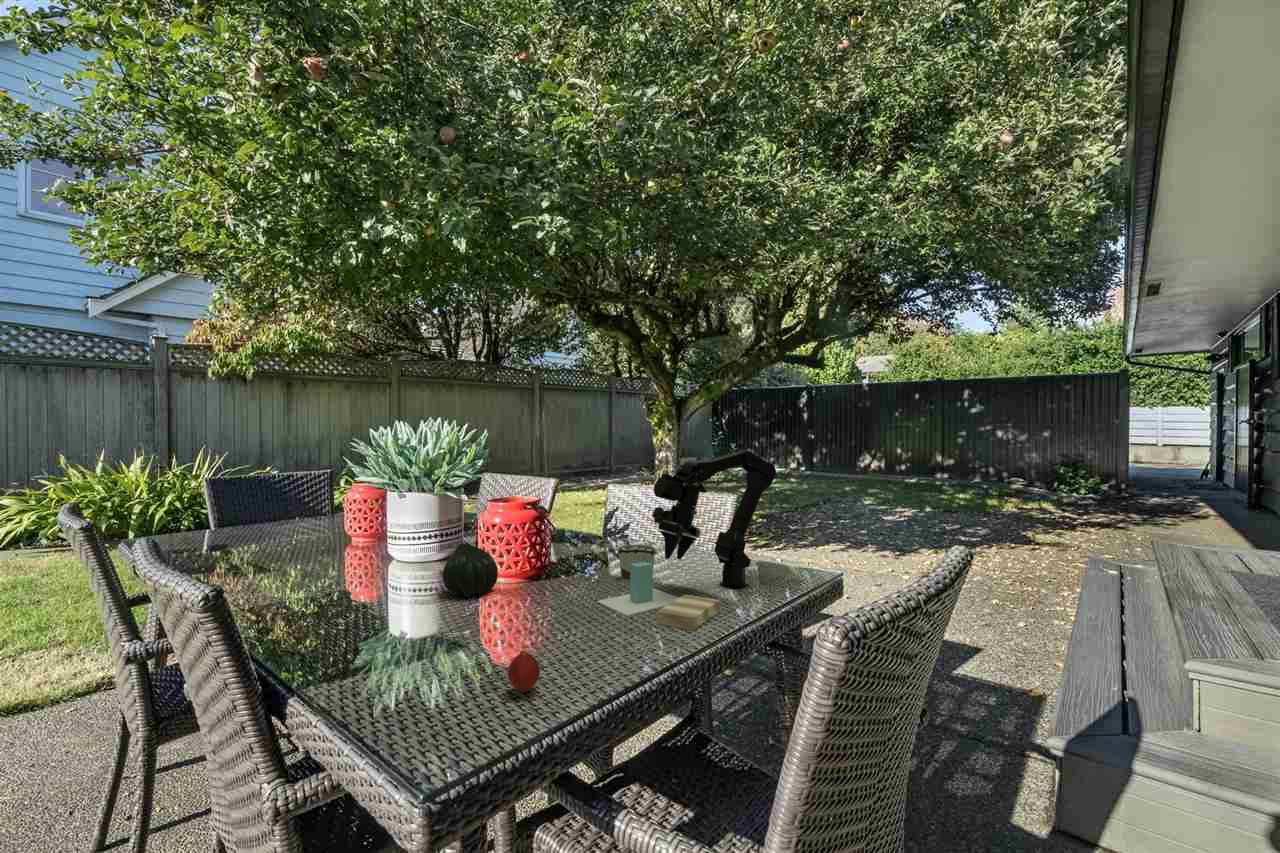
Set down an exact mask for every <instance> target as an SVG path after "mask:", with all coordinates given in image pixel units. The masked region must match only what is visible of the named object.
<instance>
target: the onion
mask: <svg viewBox="0 0 1280 853" xmlns="http://www.w3.org/2000/svg"><path fill="white" fill-rule="evenodd" d="M540 672H541V669H540V665H539V662H538V660H537V659H536V658H535V657H534V656H533V654H531V653H529V652H528V651H527V650H526V649H522V650H521V651H520V652H519V654H517V655H516V656H515V657H514V658H513V659H512V660H511V661H510V663H509V667H508V671H507V677H508V681H509V683H510V684H511V686H513V687H514V688H515V689H517V690H519V691H520V692H521V693H526V692H528V691H529V690H530V689H532V688H534V686H535V685H536V684H537V682H538V681H539V678H540V674H541V673H540Z"/></svg>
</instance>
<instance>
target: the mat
mask: <svg viewBox="0 0 1280 853" xmlns="http://www.w3.org/2000/svg"><path fill="white" fill-rule="evenodd" d="M678 598H680V597H679V596H675V595H674V594H670V593H667V592H666V591H665V592H664V591H662V590H659V589H656V588H653V601H650V602H645V603H639V604H636V603H634V602H632V601H630V593H627V594H623V595H619V596H614V597H610V598H605V599H604V598H603V599H601V600H597V601H596V603H597V602H598V603H600V604H599V605H601V604H602V605H601V606H603V605H604V606H603V607H605V606H606V608H607V607H608V608H607V609H609V610H612V611H614V610H615V612H616V611H617V612H616V613H619V614H621V615H622V616H626V617H630V616H635V615H639V614H642V613H646V611H647V612H650V610H651V611H654V609H655V610H659V609H661V608H663V607H665V606H666V605H668V604H670V603H671V602H673V601H675V600H676V599H678ZM598 603H597V604H598ZM658 608H659V609H658ZM638 613H639V614H638ZM634 614H635V615H634Z"/></svg>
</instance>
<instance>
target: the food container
mask: <svg viewBox="0 0 1280 853" xmlns="http://www.w3.org/2000/svg"><path fill="white" fill-rule="evenodd" d="M616 551H617V553H616V555H618V557H619V558H618V560H619V567H620V569H619V570H620V578H621V581H629V579H630V564H634V563H641V562H648V563H650V564H653V566H654V565H655V564H654V563H655V557H656V556H657V550H656V548H655V547H654V546H652V545H649V544H626V545H621V546H619V547H618V548H617V550H616ZM624 579H626V580H624Z"/></svg>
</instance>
